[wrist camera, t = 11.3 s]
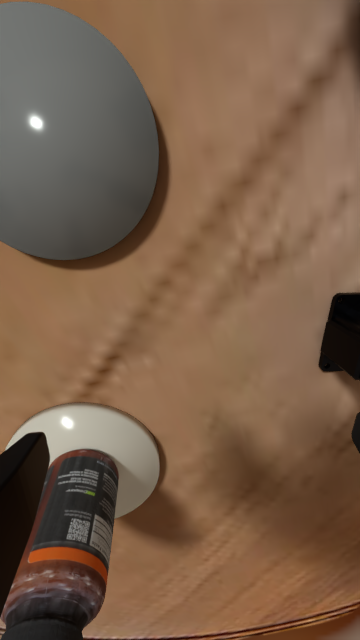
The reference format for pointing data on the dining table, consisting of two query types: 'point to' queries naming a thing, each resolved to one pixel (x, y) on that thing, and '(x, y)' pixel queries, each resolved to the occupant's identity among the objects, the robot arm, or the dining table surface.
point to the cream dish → (102, 445)
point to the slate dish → (69, 136)
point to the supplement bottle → (65, 551)
